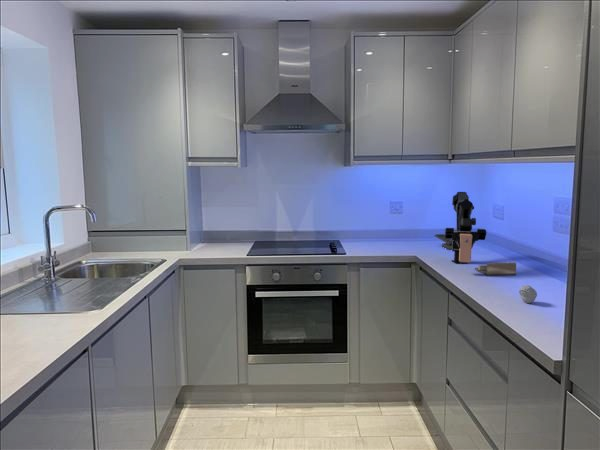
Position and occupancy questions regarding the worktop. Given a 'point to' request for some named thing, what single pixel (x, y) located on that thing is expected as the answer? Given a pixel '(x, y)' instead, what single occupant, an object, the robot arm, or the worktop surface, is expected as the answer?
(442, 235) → the zipper pull
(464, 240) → the cabinet block
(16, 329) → the worktop surface
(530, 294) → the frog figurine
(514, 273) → the cleat board
